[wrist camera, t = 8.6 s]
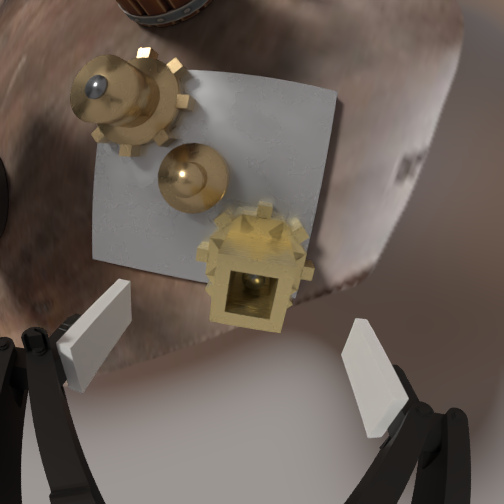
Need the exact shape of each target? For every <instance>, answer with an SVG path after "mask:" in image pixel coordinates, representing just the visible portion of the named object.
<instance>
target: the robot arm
mask: <svg viewBox="0 0 504 504" xmlns="http://www.w3.org/2000/svg"><path fill="white" fill-rule="evenodd" d="M7 212H8V189H7V181H6V176H5V171H4V168H3V165H2V162H1V160H0V237H1V235H2V233H3V231H4V228H5V224H6V220H7ZM131 321H132V315H131V281H127V280H123V279H118V280H117V281H116V282H115V283H114V284H113V285H112V286H111V287H110V288H109V289H108V290H107V291H106V292H105V293H104V294H103V295H102V296H101V297H100V298H99V299H98V300H97V301H96V302H95V303H94V304H93V305H92V306H91V307H90V308H89V309H88V310H87V311H86V312H85V313H84V314H83V315H79V314H75V315H73V316H71V317H69V318H68V319H67V320H66V321H65V322H64V323H63V324H62V325H61V326H60V327H59V329H57V330H56V331H55V332H54V333H53V334H52V335H51V336H50V337H49V338H48V334H47V331H46V330H45V329H43V328H40V327H32V328H29V329H27V330H25V331H24V332H23V333H22V336H21V339H22V342H23V345H24V348H18V347H15V345H14V342H13V340H12V339H11V338H8V337H0V504H22V496H21V454H22V438H23V426H24V417H25V409H26V402H27V396H28V390H29V396H30V403H31V410H32V416H33V423H34V428H35V433H36V438H37V443H38V447H39V451H40V455H41V459H42V463H43V466H44V470H45V473H46V477H47V480H48V483H49V486H50V490H51V494H50V495H49V498H50V502H51V504H105V502H104V500H103V498H102V496H101V494H100V491H99V489H98V487H97V485H96V483H95V480H94V478H93V476H92V473H91V471H90V469H89V466H88V464H87V461H86V459H85V456H84V453H83V450H82V448H81V445H80V442H79V439H78V436H77V433H76V430H75V427H74V424H73V420H72V417H71V414H70V410H69V407H68V403H67V399H66V395H65V391H64V387H63V384H64V383H65V381H66V380H67V383H68V386H69V388H70V389H72V390H75V391H77V392H80V393H83V392H84V390H85V389H86V388H87V386H88V385H89V383H90V381H91V380H92V378H93V377H94V375H95V374H96V372H97V371H98V369H99V368H100V366H101V365H102V363H103V362H104V360H105V359H106V357H107V356H108V354H109V353H110V351H111V350H112V349H113V347H114V346H115V344H116V343H117V341H118V340H119V338H120V337H121V336H122V334H123V333H124V331H125V330H126V328H127V327H128V326H129V324H130V323H131ZM341 356H342V359H343V362H344V365H345V368H346V370H347V374H348V377H349V380H350V383H351V386H352V389H353V392H354V395H355V398H356V401H357V404H358V407H359V411H360V413H361V417H362V420H363V424H364V427H365V430H366V434H367V437H368V438H376V437H382V436H383V434H384V433H385V432H386V431H387V430H388V432H389V437H388V438H387V439H386V440H385V442H384V443H383V444H382V446H381V447H380V449H381V450H380V451H379V453H378V455H377V456H376V458H375V459H374V461H373V463H372V464H371V466H370V467H369V469H368V470H367V472H366V474H365V475H364V477H363V478H362V480H361V481H360V483H359V484H358V485H357V487H356V488H355V490H354V491H353V492H352V494H351V495H350V496H349V498H348V499H347V501H346V502H345V503H344V504H397V502H398V500H399V498H400V497H401V495H402V493H403V491H404V489H405V487H406V485H407V483H408V481H409V478H410V476H411V474H412V472H413V470H414V468H415V465H416V463H417V461H418V467H417V474H416V480H415V486H414V492H413V497H412V502H411V504H470V495H471V456H470V439H469V427H468V418H467V416H466V414H465V413H464V412H463V411H462V410H461V409H458V408H450V409H449V410H448V411H447V413H446V414H440V413H434V411H433V409H432V408H431V407H430V406H429V405H428V404H426V403H424V402H420V401H419V399H418V398H417V396H416V394H415V392H414V390H413V388H412V386H411V384H410V382H409V381H408V379H407V377H406V375H405V373H404V371H403V370H402V369H401V368H400V367H399V366H398V365H391V363H390V361H389V359H388V357H387V355H386V353H385V351H384V350H383V348H382V346H381V344H380V342H379V340H378V339H377V337H376V335H375V333H374V331H373V329H372V328H371V326H370V324H369V322H368V320H367V319H358V318H356V319H355V321H354V324H353V326H352V329H351V332H350V334H349V337H348V339H347V342H346V345H345V347H344V349H343V352H342V354H341ZM418 458H419V459H418Z"/></svg>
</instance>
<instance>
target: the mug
mask: <svg viewBox="0 0 504 504" xmlns="http://www.w3.org/2000/svg"><path fill="white" fill-rule="evenodd" d="M116 1H117V2H118V5H119V7H120V8H121V9H122V10H123V12H124V13H125V14H126V15H127V16H128V17H129V18H130V19H131V20H133V21H135V22H137V23H139V24H141V25H144V26H149V27H152V26H157V27H163V26H169V25H173V24H176V23H178V22H180V21H184V20H187V19H189V18H191V17H193V16H194V15H196V14H197V13H199V12H200V10H202V9H203V8H205V7H206V6H207V5H208V4H209V3H210V2H211V1H212V0H116Z"/></svg>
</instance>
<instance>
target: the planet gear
mask: <svg viewBox="0 0 504 504" xmlns="http://www.w3.org/2000/svg"><path fill="white" fill-rule="evenodd" d="M272 209H273V204H272V203H266V202H261V201H259V204H258V209H257V212H254V211H248V210H244V211H242V212H241V213H240V214H238V215H237V216H235V217H234V216H233V215H232V213H231V212H230V211H229V209H228V208H227V209H226V210H225V211H223V212H222V213H220V214H219V215H218V216H217V217H216V218H215V219H214V220H213V221H214V222H215V224H216V225H217V226H218V229H217V230H216V231H214V232H213V234H212V235H211V236H210V239H209V243H208V242H201V243H200V245H199V246H198V247H197V253H196V261H200V262H206V263H207V264H206V273H205V275H206V276H207V277H208V278H209V282H208V284H207V286H206V288H205V291H206V292H207V293H208V294H209V296H210V297H211V298H212V301H211V310H210V318H209V321H212V322H217V323H223V324H228V325H234V326H239V327H245V328H251V329H257V330H263V331H270V332H277V333H281V329H282V325H283V322H284V318H285V314H286V310H287V308H289V307H291V306H292V305H293V301H292V295H291V294H293V293H295V292H296V291H298V288H299V284H300V280H301V279H303V280H309V281H312V277H313V273H314V269H315V268H314V265H313V263H312V261H310V260H305V259H306V255H307V254H306V251H305V249H304V247H303V245H302V244H301V243H302V242H303V241H305V240H306V239H308V238H309V236H308V234H307V232H306V230H305V229H304V227H303V226H302V224H301V223H300V221H298V222H297V223H295V224H294V225H292V226H291V227H290V226H289V225H288V223H287V222H286V220H285V219H284V218H283V217H282V216H276V215H271V214H272ZM243 273H249V274H255V275H261V276H266V278H265V283H264V285H263V286H262V287H260V288H258V289H250V288H248V287H246V286H245V285H244V283H243V281H242V275H243Z"/></svg>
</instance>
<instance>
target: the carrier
mask: <svg viewBox="0 0 504 504" xmlns="http://www.w3.org/2000/svg"><path fill="white" fill-rule="evenodd" d="M157 58H158V53H157V52H155V51H154V50H153V49H152V48H139V50H138V54H137V58H135V59H131V60H129V61H125V60H123V59H121V58H120V57H118V56H115V55H102V56H99V57H96V58H94V59H93V60H91V61H90V62H88V63H87V64H86V65H85V66H84V67H83V68H82V69H81V70H80V72H79V73H78V75H77V76H76V78H75V80H74V82H73V85H72V89H71V94H70V101H71V107H72V110H73V112H74V114H75V115H76V116H77V117H78V118H79V119H81V120H82V121H85V122H90V123H97V125H98V127H97V128H96V129H95V130H94V132H93V133H92V134H91V135H92V136H93V138H94V139H95V141H96V142H97V143H98V144H97V153H96V162H95V174H94V188H93V210H92V255H93V259H95V260H100V261H104V262H108V263H113V264H117V265H122V266H126V267H131V268H136V269H140V270H145V271H150V272H154V273H159V274H164V275H169V276H174V277H179V278H184V279H189V280H194V281H199V282H205V283H208V282H209V278H208V277H207V276H206V275H205V273H206V264H207V263H206V262H200V261H196V253H197V247H198V246H199V245H200V243H201V242H208V243H209V239H210V236H211V235H212V234H213V232H214V231H216V230H217V229H218V226H217V225H216V224H215V222H214V221H213V220H214V219H215V218H216V217H217V216H218V215H219V214H220V213H222V212H223V211H225V210H226V209H227V208H228V209H229V211H230V212H231V213H232V215H233V216H234V217H235V216H237V215H238V214H240V213H241V212H242V211H244V210H248V211H254V212H257V209H258V204H259V201H261V202H266V203H272V204H273V209H272V214H271V215H276V216H282V217H283V218H284V219H285V220H286V222H287V223H288V225H289V226H290V227H291V226H292V225H294V224H295V223H297V222H298V221H300V223H301V224H302V226H303V227H304V229H305V230H306V232H307V234H308V236H309V238H308V239H306V240H305V241H303V242H302V243H301V244H302V245H303V247H304V249H305V251H306V253H307V249H308V245H309V240H310V236H311V232H312V227H313V222H314V218H315V213H316V208H317V204H318V199H319V194H320V189H321V184H322V179H323V174H324V168H325V163H326V158H327V152H328V147H329V141H330V135H331V130H332V124H333V117H334V111H335V105H336V98H337V91H333V90H329V89H325V88H320V87H316V86H312V85H307V84H302V83H297V82H292V81H287V80H281V79H275V78H269V77H262V76H255V75H247V74H238V73H229V72H217V71H202V70H187V69H186V68H185V67H184V66H183V64H182V63H181V62H180V61H179V60H178V59H177V58H174V59H173V60H172V61H170V62H169V63H168V64H167V65H165V64H164V63H163V62H161V61H159V60H157ZM265 278H266V276H261V275H255V274H249V273H243V275H242V281H243V283H244V285H245V286H246V287H248V288H250V289H258V288H260V287H262V286H263V285H264V283H265ZM291 295H292V298H296V295H297V291H296V292H295V293H293V294H291Z"/></svg>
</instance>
